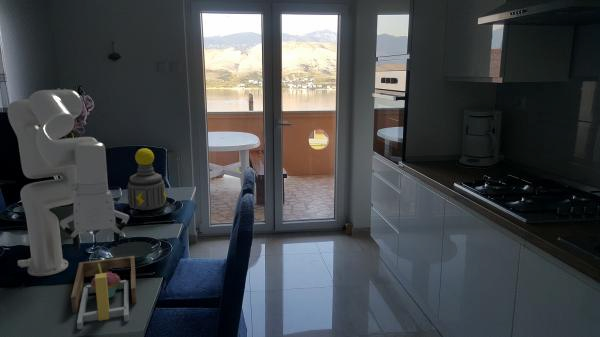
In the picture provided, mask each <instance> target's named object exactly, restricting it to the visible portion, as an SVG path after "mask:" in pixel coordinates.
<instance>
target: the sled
mask: <svg viewBox="0 0 600 337" xmlns="http://www.w3.org/2000/svg"><path fill="white" fill-rule="evenodd" d="M94 277H95V285H96V290H94V289H92V287H91V284H87V285H85V286H84V287H83V288H82V293H81V294H82V295H81V298H80V300H81V301H80V303H79V308H78V310H79V311H78V315H77V321H76V325H77V326H76V328H77V330H83V327H84V323H85V322H86V323H87V322H92V321H105V320H110V319H111V318H118V317H123V321H124V322H129V320H130V311H129V310H130V306H129V305H130V304H129V303H130V300H129V299H130V296H129V295H130V294H129V293H130V291H129V290H130V289H129V288H130V286H129V280H127V279H123V280H121V279H120V281H121V283H120V284H119V285H118V286H117V288H116V290H121V289H122V290H123V306H119V307H114V308H110V301H109V299H110V298H108V287H107V275H106V273H102V274H96V275H95V276H94ZM94 293H95V294H96V305H97V306H96V307H97V310H94V311H88V312H87V311H86V310H87V305H88V304H87V303H88V297H89V294H94Z"/></svg>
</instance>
